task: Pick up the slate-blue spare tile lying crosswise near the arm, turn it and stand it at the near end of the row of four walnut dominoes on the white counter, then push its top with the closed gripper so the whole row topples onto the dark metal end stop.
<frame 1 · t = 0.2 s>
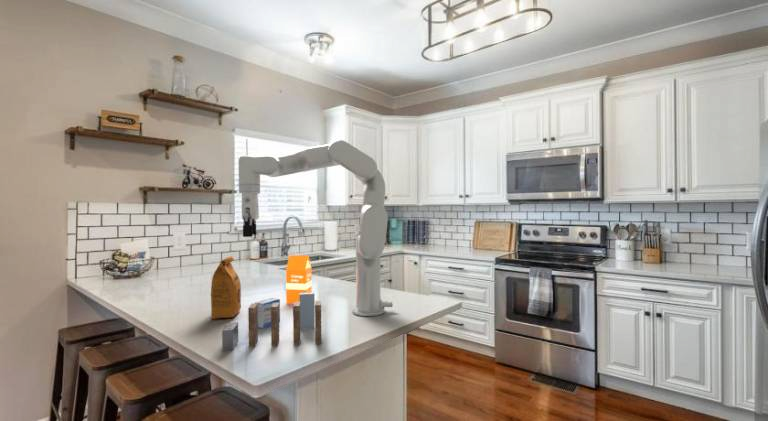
hand: (249, 235, 144), 31 cm above the table, tool pointing down, fingers open, 9 cm apart
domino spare: (307, 328, 133), on the table
domino 2: (318, 341, 121), on the table
domino 4: (275, 343, 119), on the table
domino 3: (297, 342, 120), on the table
medicine box: (267, 325, 137), on the table
orange juice: (299, 301, 169), on the table
domino 5: (253, 344, 118), on the table
coffee package: (227, 315, 148), on the table
end stop: (230, 345, 117), on the table
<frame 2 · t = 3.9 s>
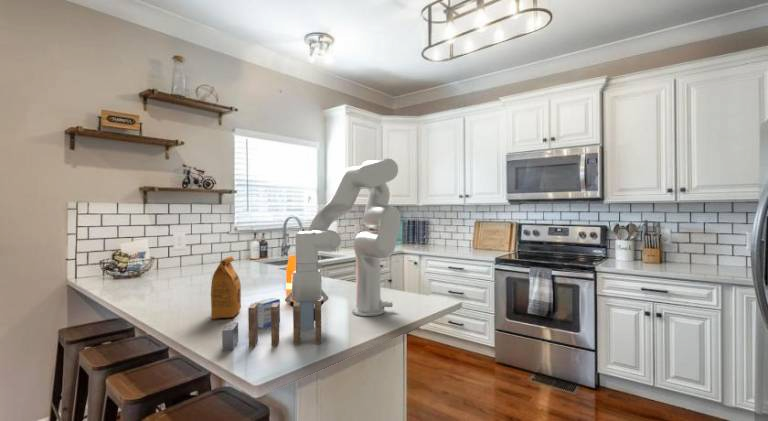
hand: (307, 319, 133), 3 cm above the table, tool pointing down, fingers closed on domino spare, 4 cm apart
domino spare: (307, 328, 133), on the table, touching gripper
everything else where it was.
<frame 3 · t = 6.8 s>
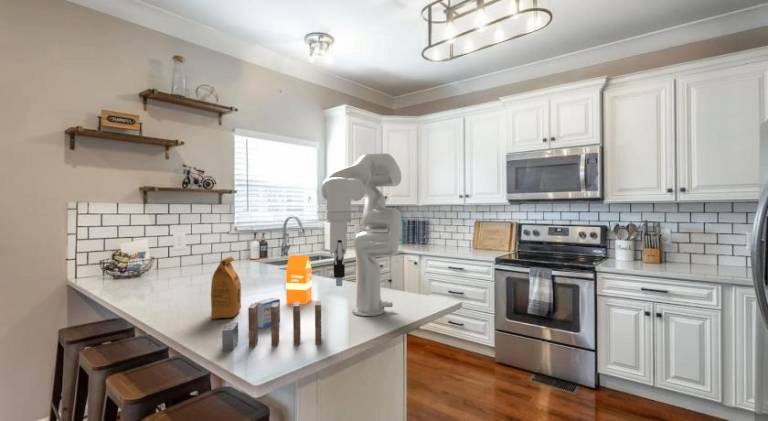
hand: (339, 275, 121), 21 cm above the table, tool pointing down, fingers closed on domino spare, 4 cm apart
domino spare: (339, 284, 121), point 18 cm above the table, touching gripper
everything else where it was.
when the fingers open (4 cm above the table, at t = 10.1 s): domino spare stays where it is, on the table.
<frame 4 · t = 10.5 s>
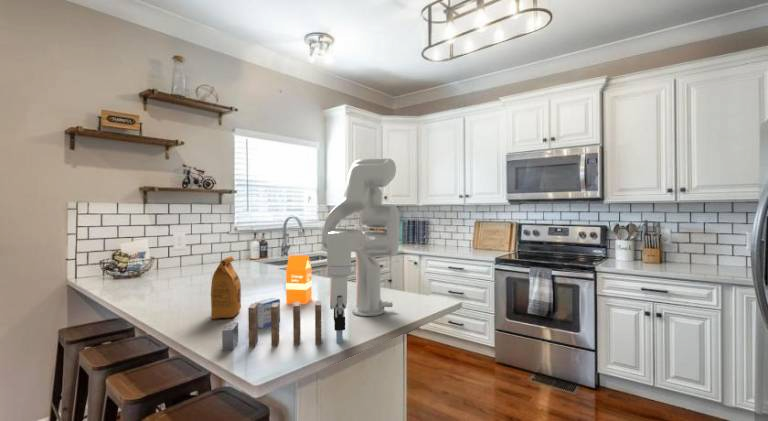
hand: (339, 325, 121), 5 cm above the table, tool pointing down, fingers open, 9 cm apart
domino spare: (339, 339, 122), on the table
everything else where it was.
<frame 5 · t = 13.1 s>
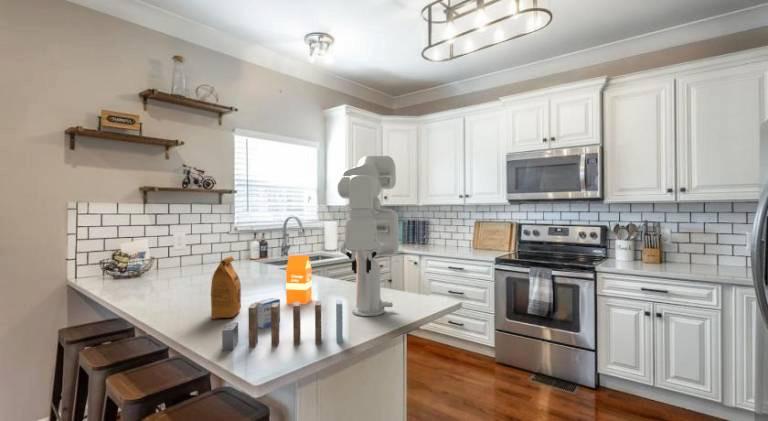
hand: (361, 272, 122), 21 cm above the table, tool pointing down, fingers open, 3 cm apart
nothing on the table moved.
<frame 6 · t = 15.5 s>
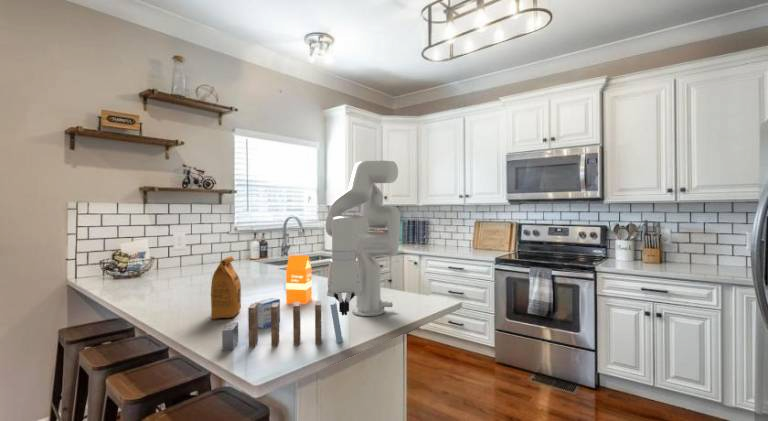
hand: (344, 313, 121), 8 cm above the table, tool pointing down, fingers closed
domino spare: (339, 339, 122), on the table, tilted 9°
everything else where it was.
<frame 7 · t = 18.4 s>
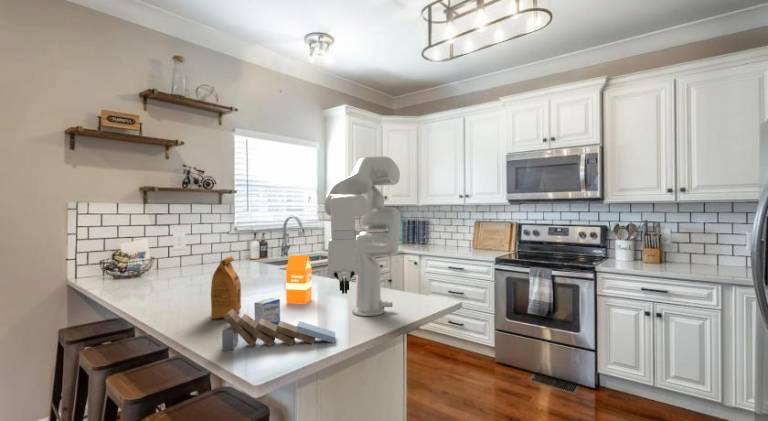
hand: (344, 292, 122), 15 cm above the table, tool pointing down, fingers closed
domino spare: (334, 337, 121), point 1 cm above the table, tilted 70°, touching domino 2
domino 2: (314, 338, 120), point 1 cm above the table, tilted 67°, touching domino 3, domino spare
domino 4: (273, 341, 118), point 1 cm above the table, tilted 51°, touching domino 3, domino 5
domino 3: (293, 339, 119), point 1 cm above the table, tilted 61°, touching domino 2, domino 4
domino 5: (254, 341, 118), point 1 cm above the table, tilted 40°, touching domino 4, end stop
everything else where it was.
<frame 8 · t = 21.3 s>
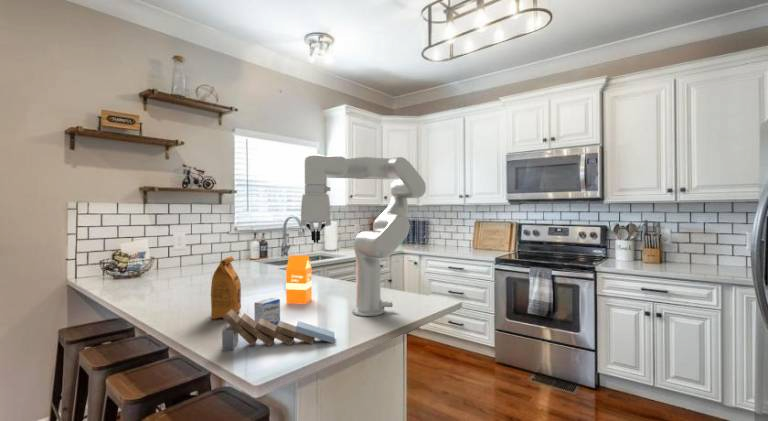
hand: (315, 242, 136), 29 cm above the table, tool pointing down, fingers closed
nothing on the table moved.
at the end: domino 5 tilted 42°; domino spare tilted 70°; the gripper is holding nothing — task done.
